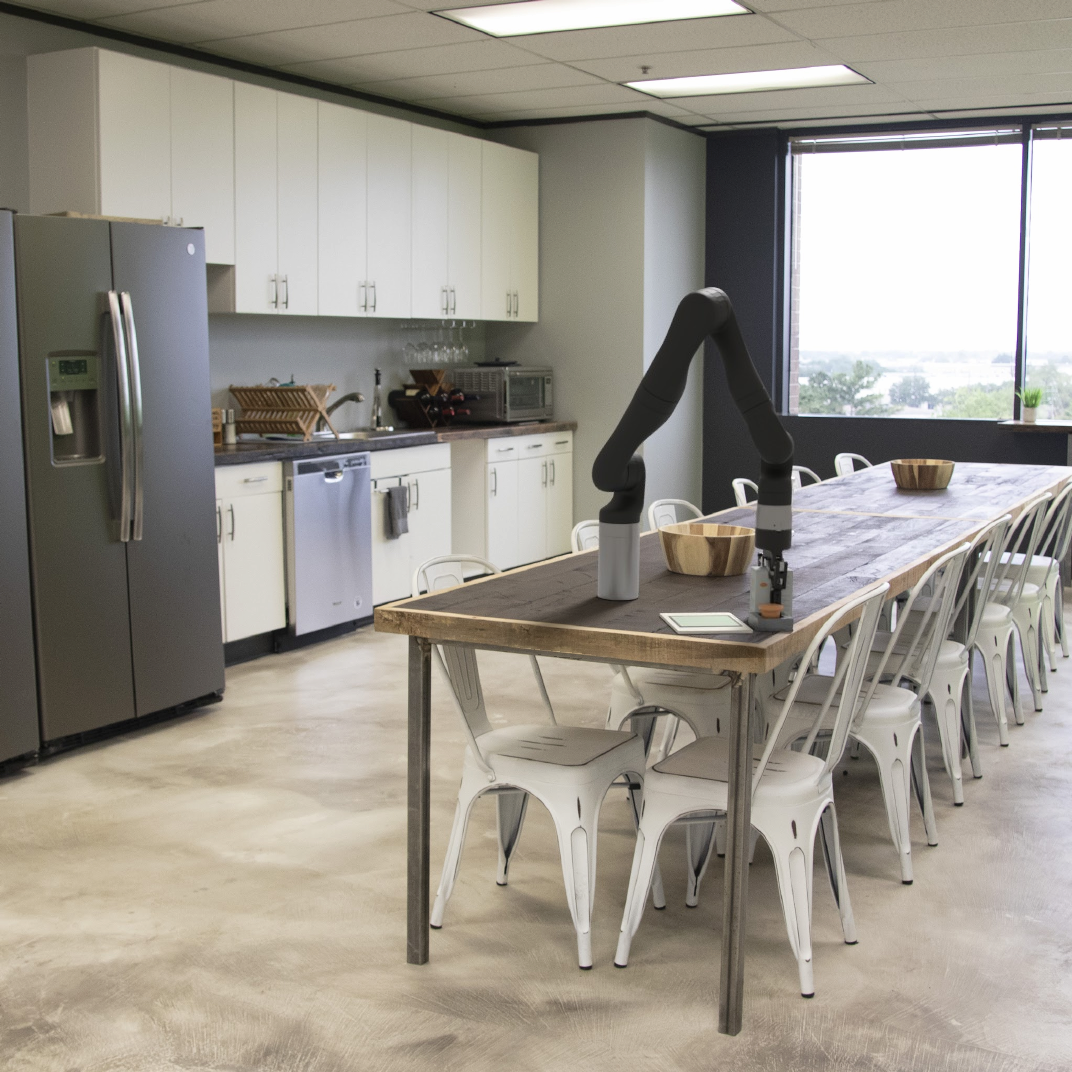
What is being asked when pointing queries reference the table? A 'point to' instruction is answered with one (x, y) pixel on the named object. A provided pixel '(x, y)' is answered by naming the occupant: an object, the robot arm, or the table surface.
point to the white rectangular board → (705, 623)
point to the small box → (762, 590)
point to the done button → (770, 610)
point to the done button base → (770, 622)
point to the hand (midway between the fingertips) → (770, 605)
